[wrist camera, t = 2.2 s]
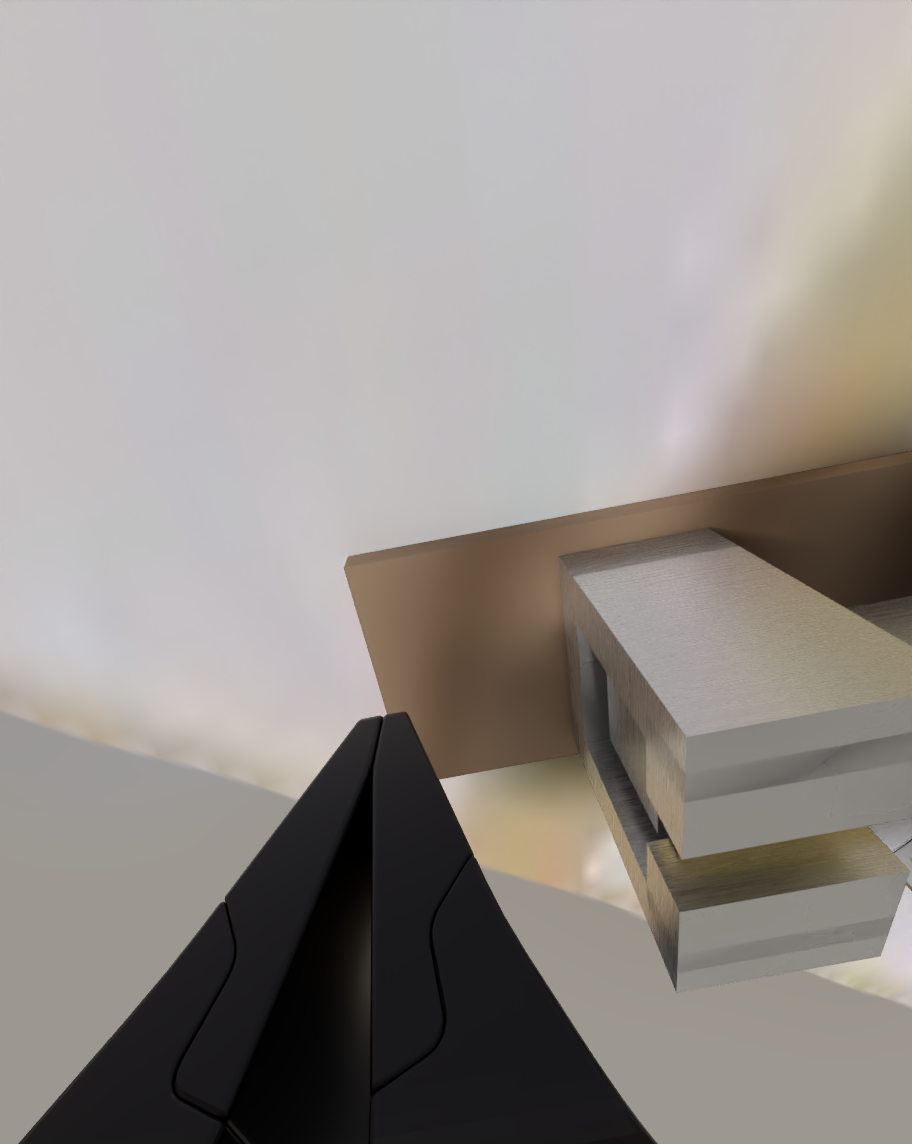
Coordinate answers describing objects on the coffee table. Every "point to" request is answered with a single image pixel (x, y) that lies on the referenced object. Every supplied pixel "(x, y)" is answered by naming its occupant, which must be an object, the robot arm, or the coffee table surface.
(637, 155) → the coffee table surface
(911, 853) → the coffee box
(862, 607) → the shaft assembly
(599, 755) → the grey slotted block
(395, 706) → the board
